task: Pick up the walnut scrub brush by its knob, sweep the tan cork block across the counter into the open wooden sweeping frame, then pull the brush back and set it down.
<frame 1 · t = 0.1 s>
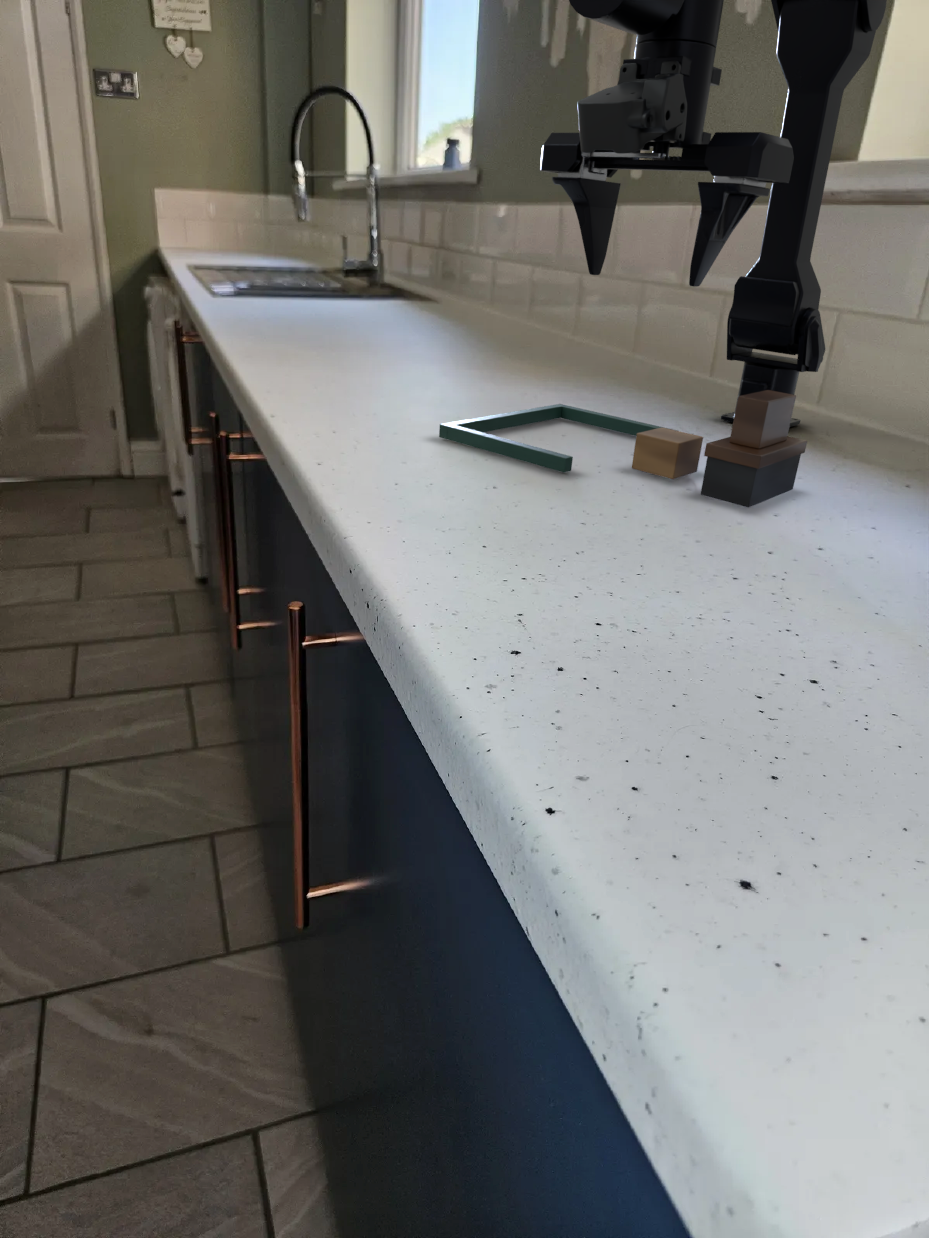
hand: (642, 280, 69), 14 cm above the counter, tool pointing down, fingers open, 9 cm apart
cork block: (664, 470, 73), on the counter
frame: (565, 441, 80), on the counter
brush: (747, 492, 68), on the counter
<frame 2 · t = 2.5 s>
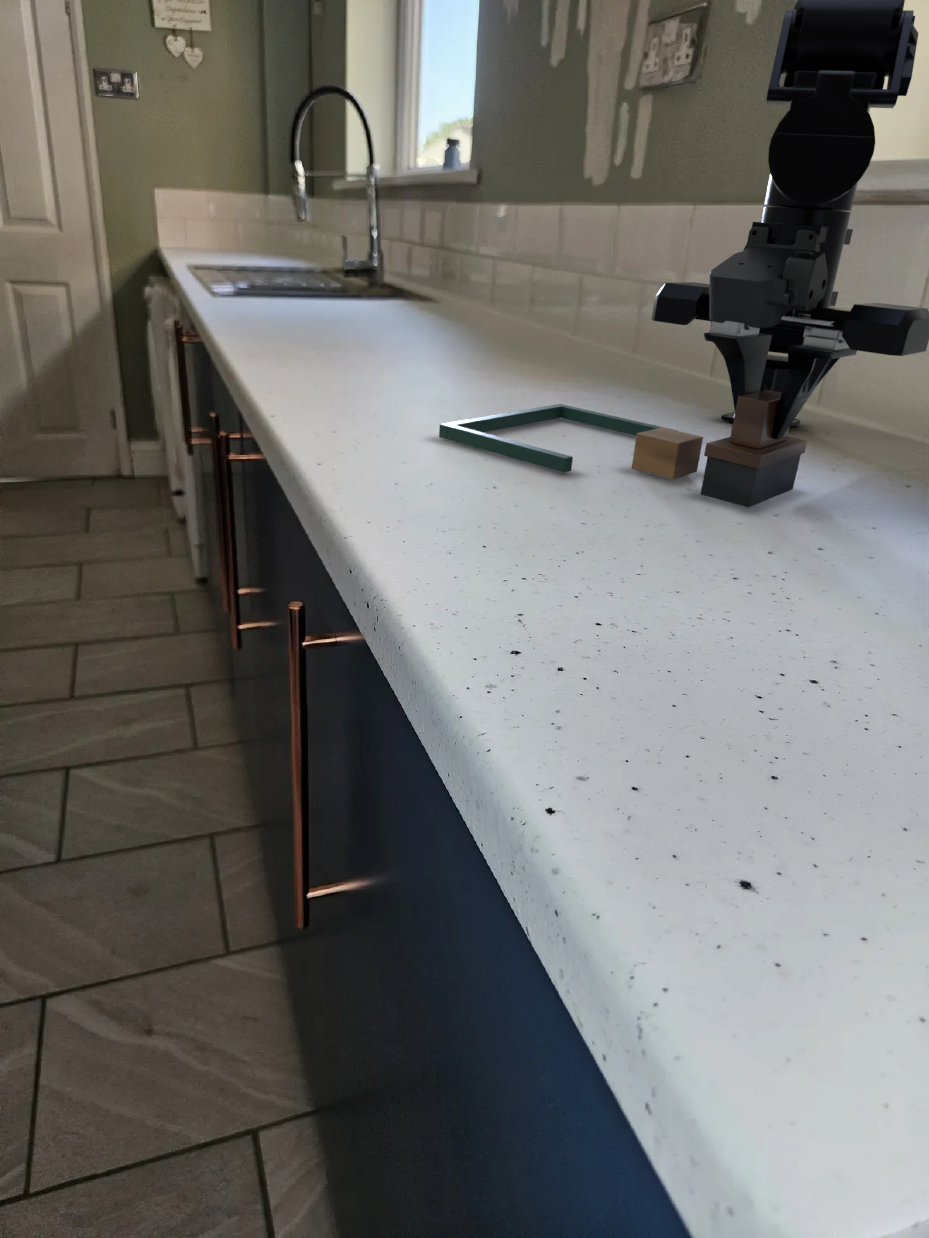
hand: (759, 434, 66), 5 cm above the counter, tool pointing down, fingers closed on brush, 2 cm apart
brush: (747, 492, 68), on the counter, touching gripper
everything else where it was.
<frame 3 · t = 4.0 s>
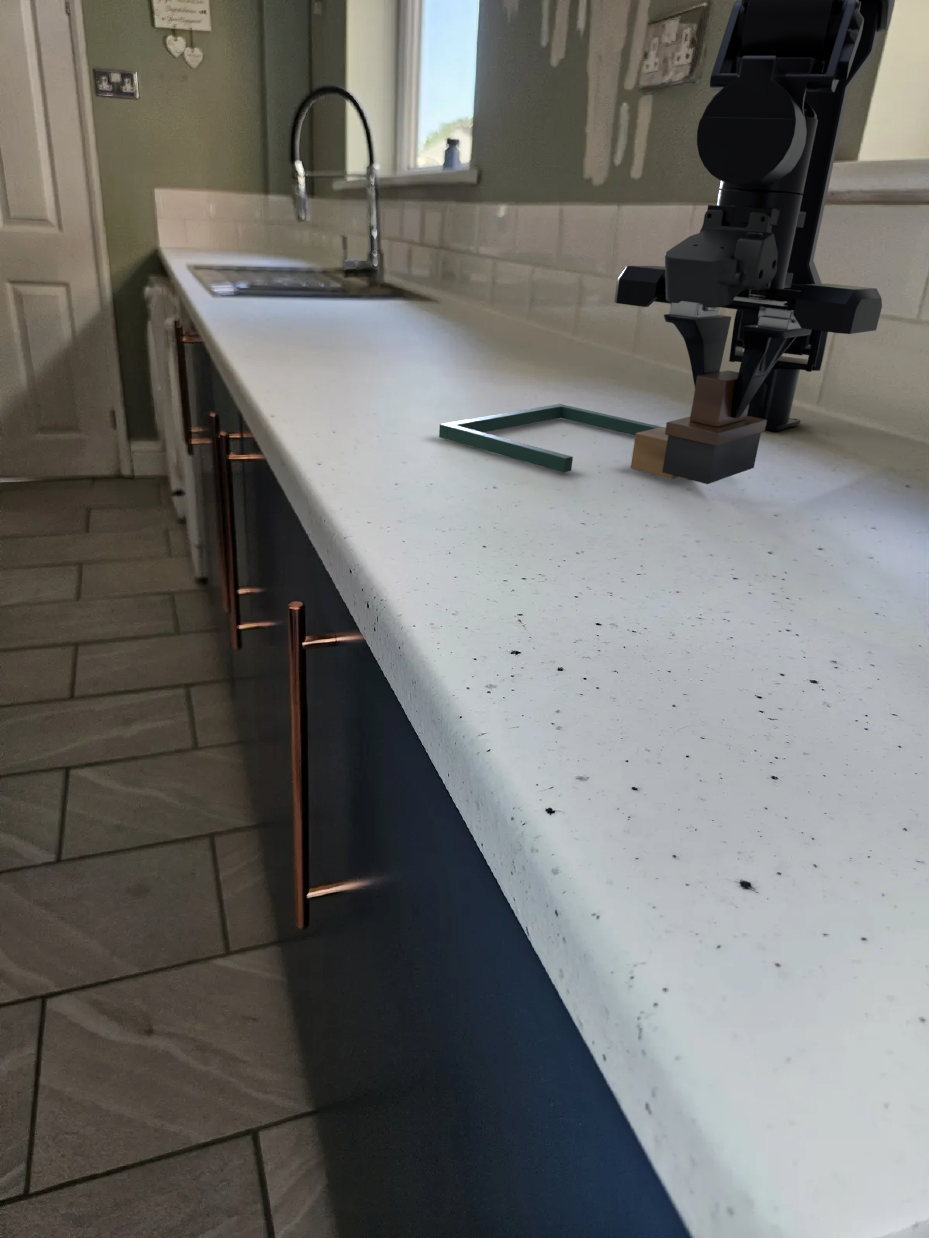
hand: (719, 414, 68), 5 cm above the counter, tool pointing down, fingers closed on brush, 2 cm apart
cork block: (663, 470, 73), on the counter, touching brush
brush: (708, 470, 70), point 1 cm above the counter, touching cork block, gripper
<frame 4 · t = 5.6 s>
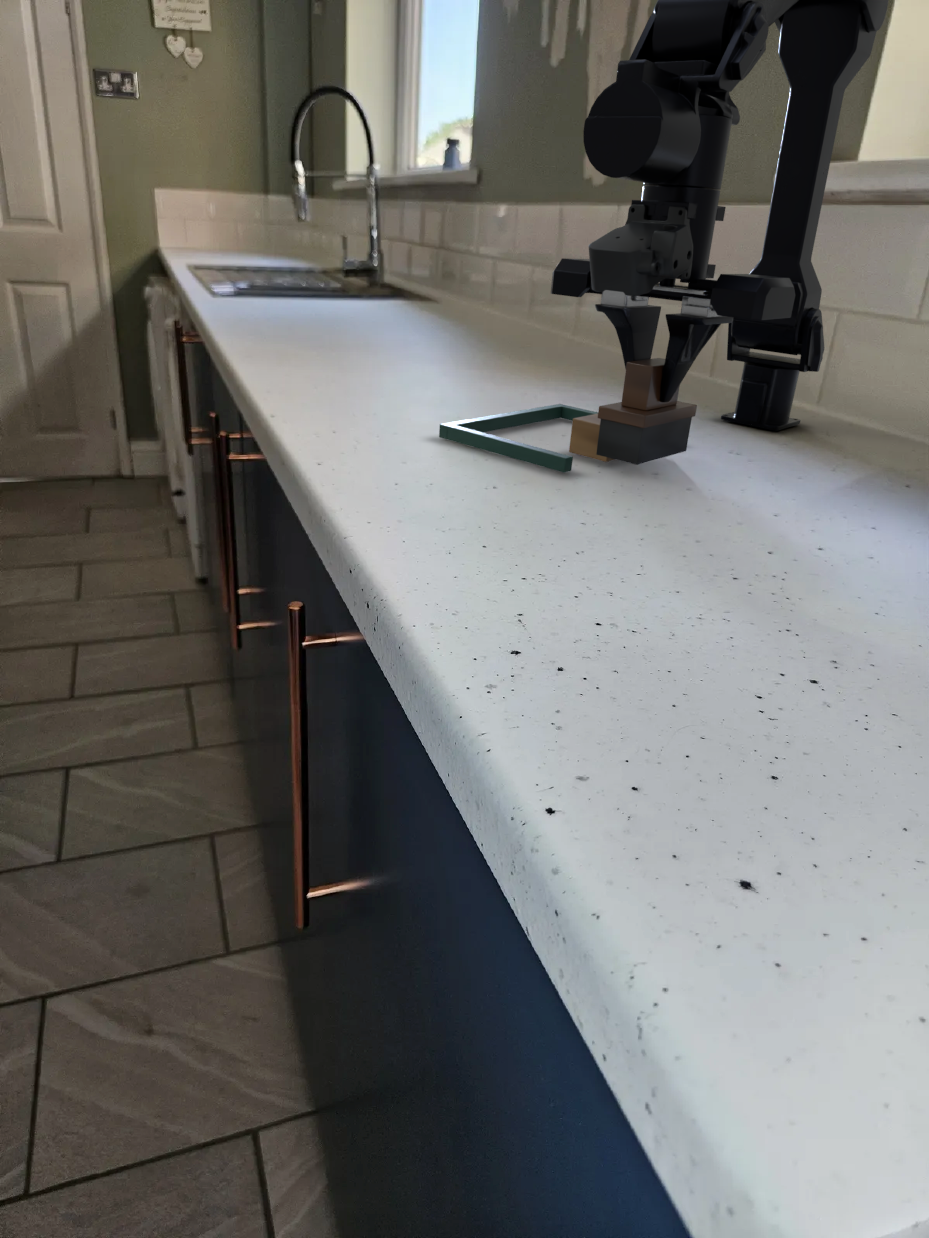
hand: (649, 398, 72), 5 cm above the counter, tool pointing down, fingers closed on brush, 2 cm apart
cork block: (600, 454, 76), on the counter
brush: (642, 452, 74), point 1 cm above the counter, touching gripper
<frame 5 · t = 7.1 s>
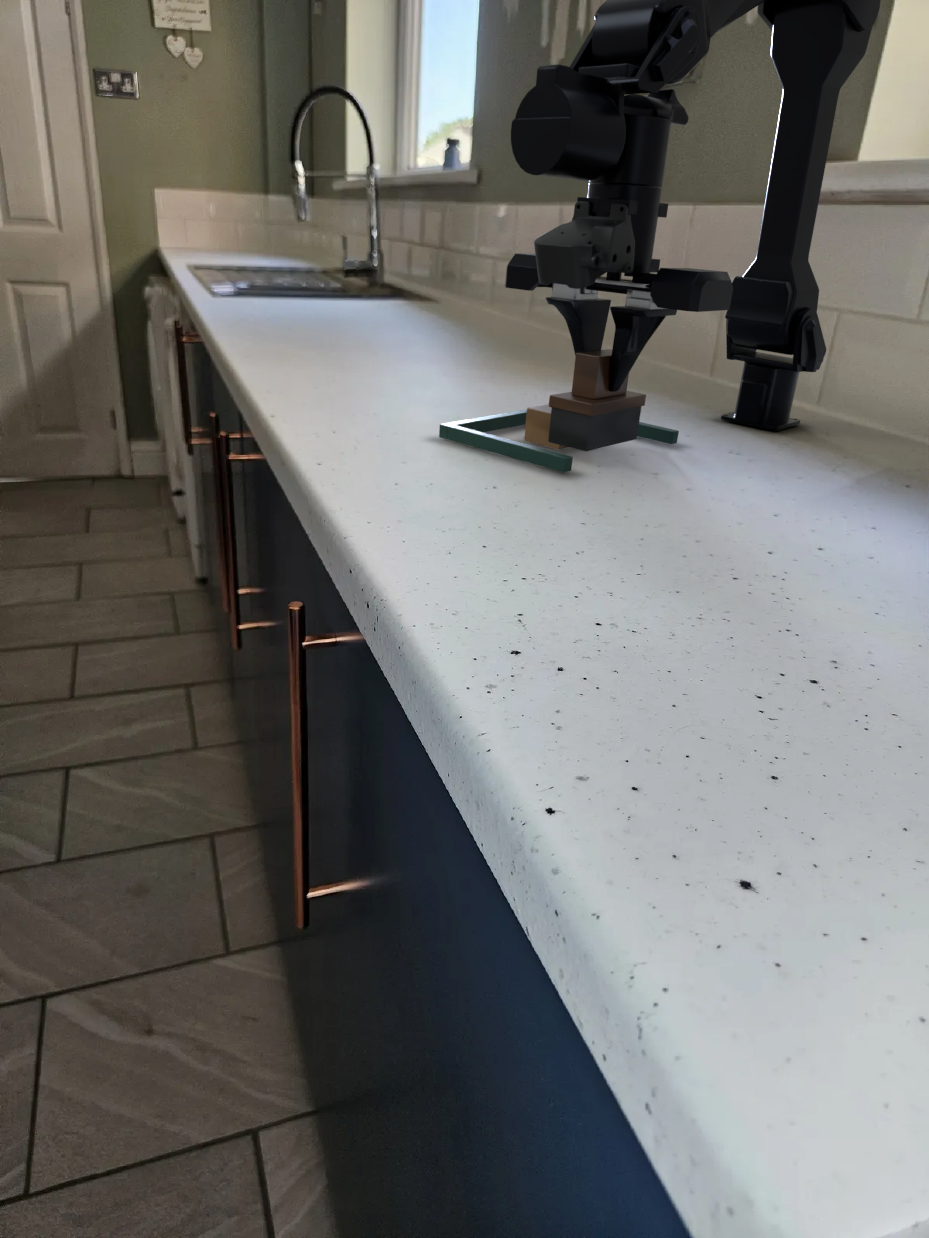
hand: (599, 388, 75), 5 cm above the counter, tool pointing down, fingers closed on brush, 2 cm apart
cork block: (554, 442, 79), on the counter, touching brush
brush: (593, 440, 77), point 1 cm above the counter, touching cork block, gripper
when the fingers open (5 cm above the counter, at t = 9.8 s): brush stays where it is, on the counter.
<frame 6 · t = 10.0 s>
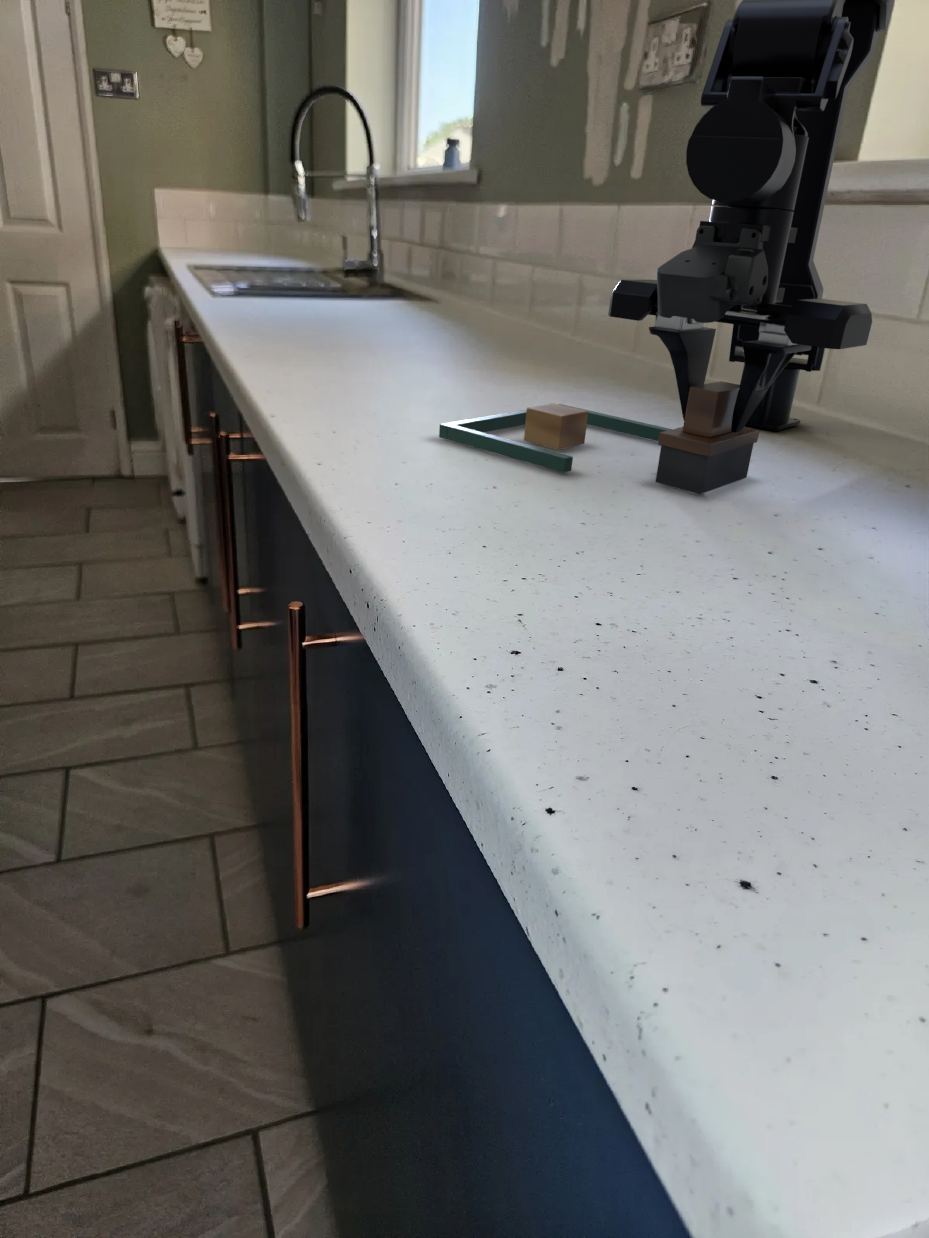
hand: (711, 426, 69), 4 cm above the counter, tool pointing down, fingers open, 4 cm apart
cork block: (554, 442, 79), on the counter
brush: (701, 480, 71), on the counter
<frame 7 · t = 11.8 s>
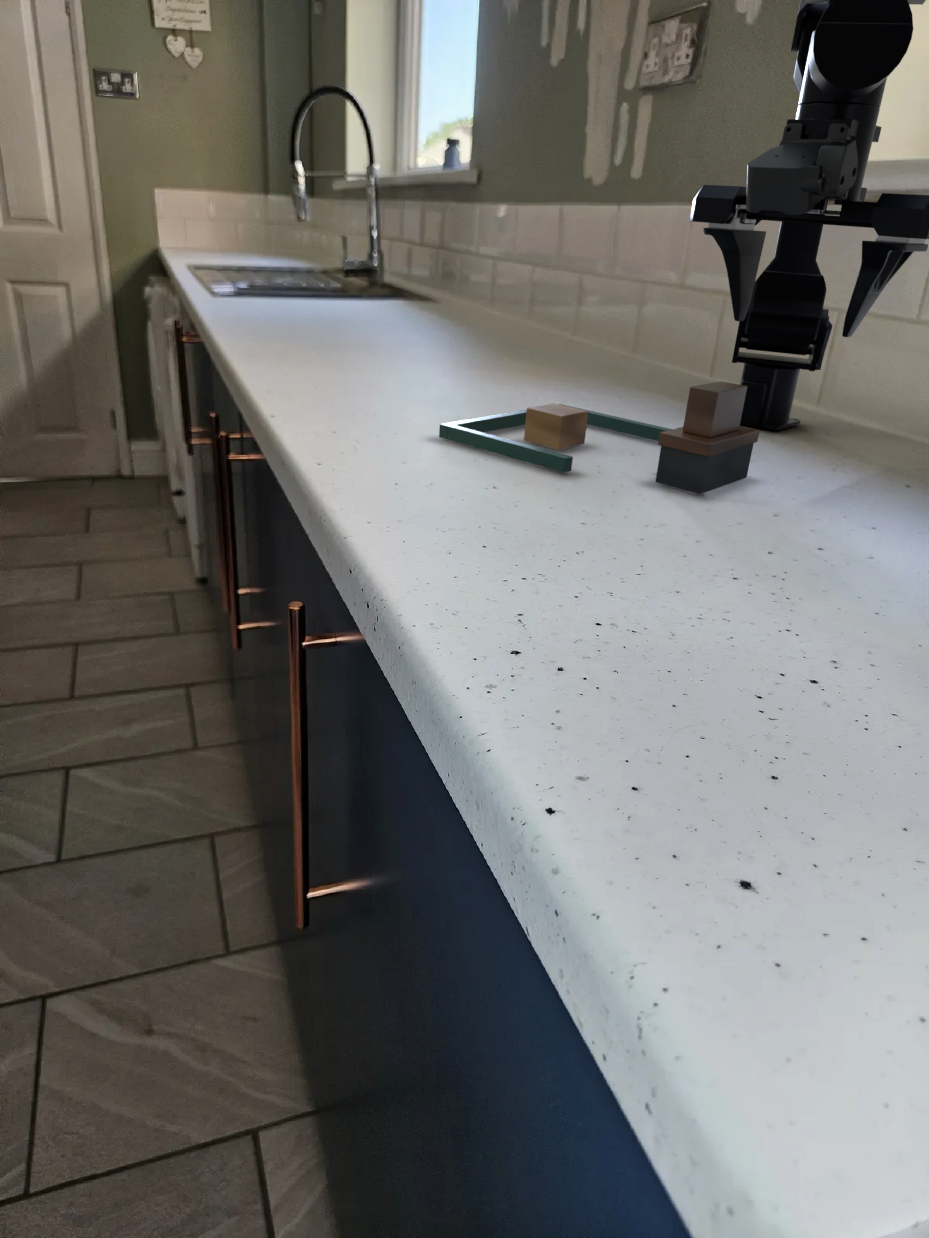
hand: (790, 328, 71), 12 cm above the counter, tool pointing down, fingers open, 9 cm apart
nothing on the counter moved.
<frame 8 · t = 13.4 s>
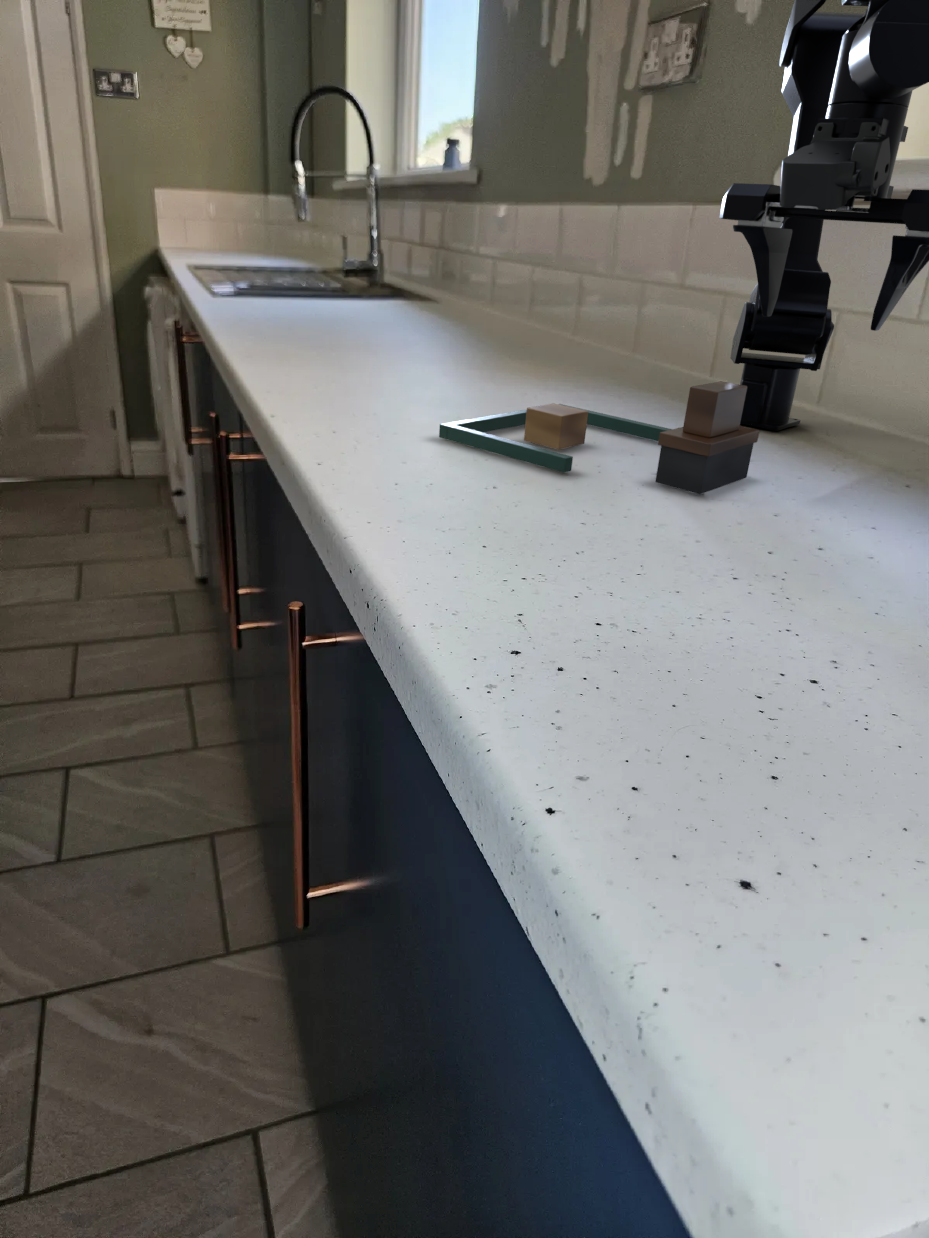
hand: (818, 323, 73), 12 cm above the counter, tool pointing down, fingers open, 9 cm apart
nothing on the counter moved.
at the end: cork block inside the target area on the frame (1.3 cm from its centre), point 0.0 cm above the frame's base; the gripper is holding nothing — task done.
